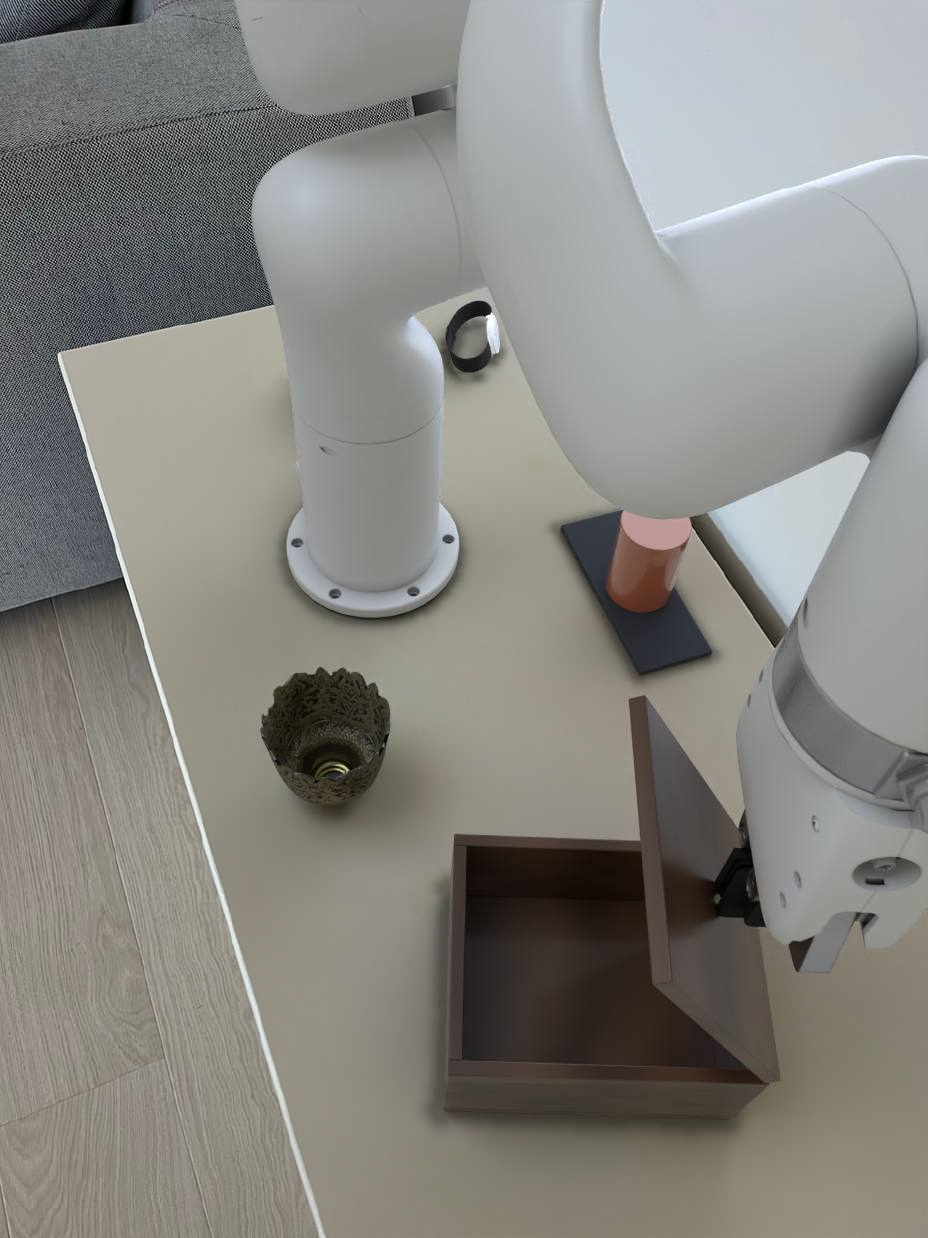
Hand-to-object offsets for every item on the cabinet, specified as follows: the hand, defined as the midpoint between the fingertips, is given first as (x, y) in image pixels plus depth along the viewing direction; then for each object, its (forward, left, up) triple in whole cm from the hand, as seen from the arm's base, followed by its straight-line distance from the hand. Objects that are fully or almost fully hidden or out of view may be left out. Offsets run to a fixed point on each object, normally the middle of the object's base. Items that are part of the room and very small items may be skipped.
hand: (750, 901), depth 49 cm
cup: (-23, -10, -15) cm, 29 cm away
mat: (-25, +17, -15) cm, 33 cm away
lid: (-1, -2, 0) cm, 2 cm away
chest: (-3, -5, -15) cm, 16 cm away
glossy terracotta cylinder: (-24, +17, -15) cm, 33 cm away
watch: (-53, +21, -15) cm, 59 cm away
